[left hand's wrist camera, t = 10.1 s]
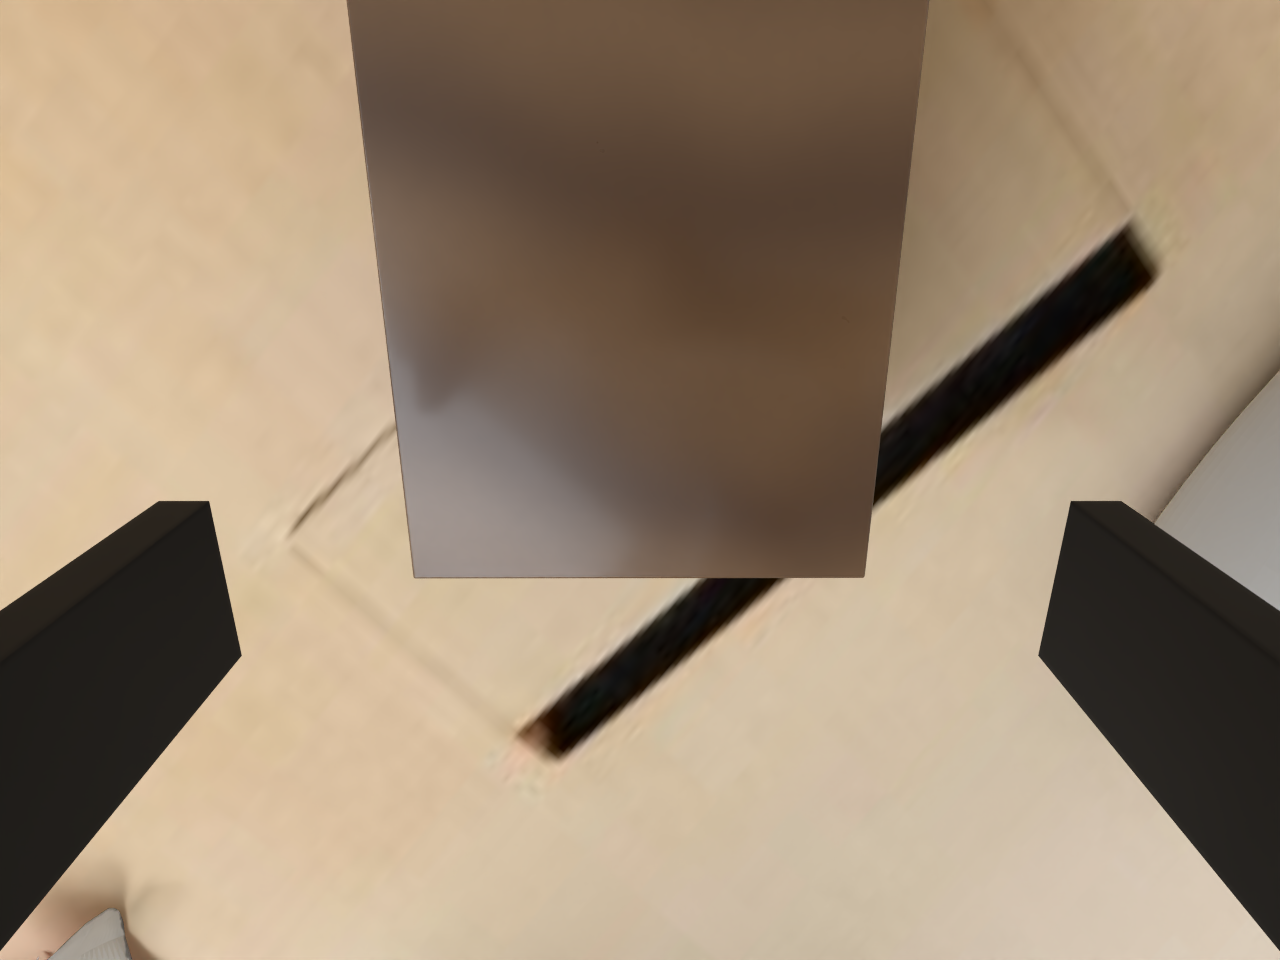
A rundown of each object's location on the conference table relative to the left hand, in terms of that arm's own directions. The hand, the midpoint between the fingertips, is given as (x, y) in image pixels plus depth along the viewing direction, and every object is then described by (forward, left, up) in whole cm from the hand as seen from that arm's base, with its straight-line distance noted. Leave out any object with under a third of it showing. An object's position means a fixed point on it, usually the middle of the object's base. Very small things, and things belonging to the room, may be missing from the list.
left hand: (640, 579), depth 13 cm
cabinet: (+6, -1, -19) cm, 20 cm away
